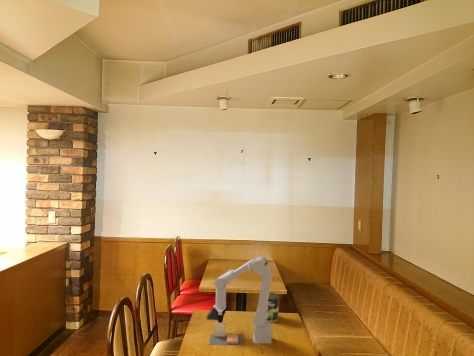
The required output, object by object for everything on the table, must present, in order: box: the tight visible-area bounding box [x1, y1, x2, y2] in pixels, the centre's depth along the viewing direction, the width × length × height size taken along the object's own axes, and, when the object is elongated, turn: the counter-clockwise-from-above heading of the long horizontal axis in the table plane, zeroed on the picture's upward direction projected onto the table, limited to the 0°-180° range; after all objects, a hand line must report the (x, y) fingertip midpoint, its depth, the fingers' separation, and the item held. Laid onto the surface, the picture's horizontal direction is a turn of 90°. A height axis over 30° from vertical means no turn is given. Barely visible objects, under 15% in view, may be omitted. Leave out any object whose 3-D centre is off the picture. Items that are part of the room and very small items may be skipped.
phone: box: [206, 307, 218, 321], centre depth 207 cm, size 8×1×15 cm
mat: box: [208, 333, 243, 346], centre depth 177 cm, size 17×11×1 cm, turn 91°
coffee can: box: [267, 292, 280, 323], centre depth 204 cm, size 10×10×14 cm
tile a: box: [226, 333, 239, 344], centre depth 176 cm, size 6×1×7 cm
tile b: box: [213, 322, 227, 337], centre depth 180 cm, size 6×1×7 cm, turn 91°
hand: (220, 322), depth 186 cm, fingers closed
